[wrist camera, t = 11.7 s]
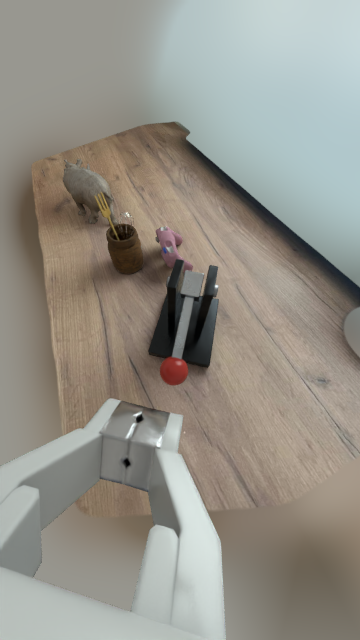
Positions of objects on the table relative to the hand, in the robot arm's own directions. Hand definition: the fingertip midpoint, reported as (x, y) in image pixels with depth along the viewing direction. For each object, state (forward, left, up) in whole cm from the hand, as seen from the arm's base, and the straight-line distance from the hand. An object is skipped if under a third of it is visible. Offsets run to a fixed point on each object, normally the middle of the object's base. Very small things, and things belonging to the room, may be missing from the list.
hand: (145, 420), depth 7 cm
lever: (+10, -3, -12) cm, 16 cm away
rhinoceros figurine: (+48, +15, -19) cm, 54 cm away
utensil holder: (+29, +6, -19) cm, 35 cm away
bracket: (+14, -4, -19) cm, 24 cm away
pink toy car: (+30, -3, -19) cm, 36 cm away
